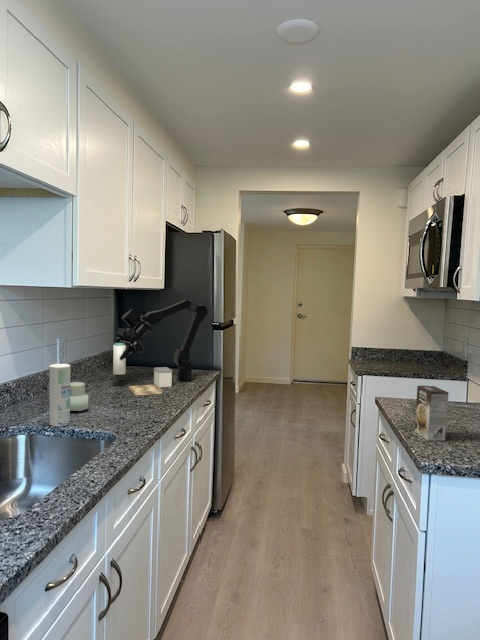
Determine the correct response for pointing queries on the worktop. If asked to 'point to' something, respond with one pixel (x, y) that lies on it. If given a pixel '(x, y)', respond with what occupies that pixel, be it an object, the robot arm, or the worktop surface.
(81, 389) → the air freshener
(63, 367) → the spray can
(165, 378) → the box
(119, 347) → the cartridge
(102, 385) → the worktop surface
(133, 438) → the worktop surface
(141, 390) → the refill tray
